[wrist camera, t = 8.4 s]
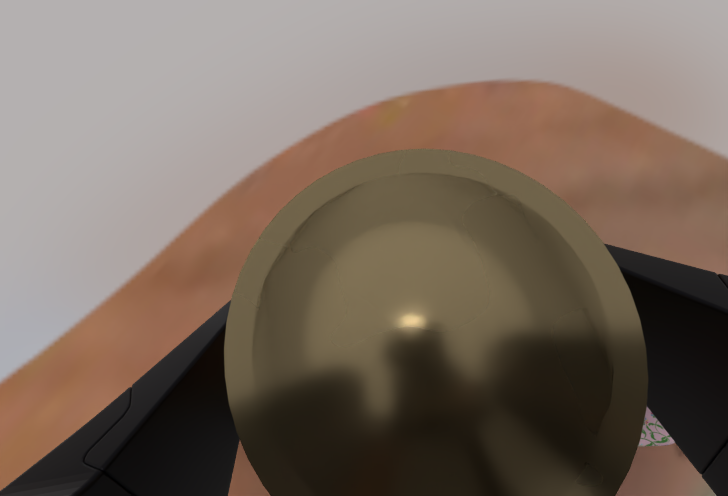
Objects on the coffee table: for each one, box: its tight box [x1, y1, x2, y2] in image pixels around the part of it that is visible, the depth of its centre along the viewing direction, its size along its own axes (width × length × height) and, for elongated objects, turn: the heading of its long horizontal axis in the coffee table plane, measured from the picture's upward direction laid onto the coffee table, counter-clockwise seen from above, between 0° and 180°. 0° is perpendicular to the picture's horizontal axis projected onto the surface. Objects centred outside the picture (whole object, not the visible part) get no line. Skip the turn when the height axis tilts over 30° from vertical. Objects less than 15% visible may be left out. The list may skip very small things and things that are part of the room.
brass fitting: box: [224, 149, 648, 496], centre depth 11 cm, size 6×6×13 cm
